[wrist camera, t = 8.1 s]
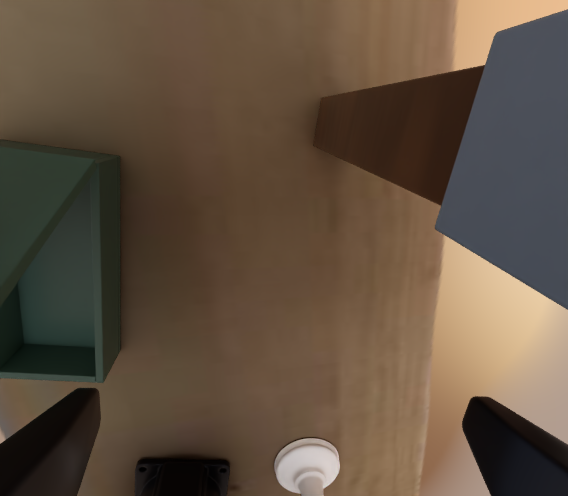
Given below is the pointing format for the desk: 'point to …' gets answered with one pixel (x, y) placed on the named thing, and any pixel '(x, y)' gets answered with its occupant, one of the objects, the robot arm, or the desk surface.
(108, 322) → the chest
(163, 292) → the desk surface
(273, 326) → the desk surface
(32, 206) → the lid
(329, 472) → the chess piece
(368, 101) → the post
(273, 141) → the desk surface
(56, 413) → the robot arm
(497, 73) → the block
